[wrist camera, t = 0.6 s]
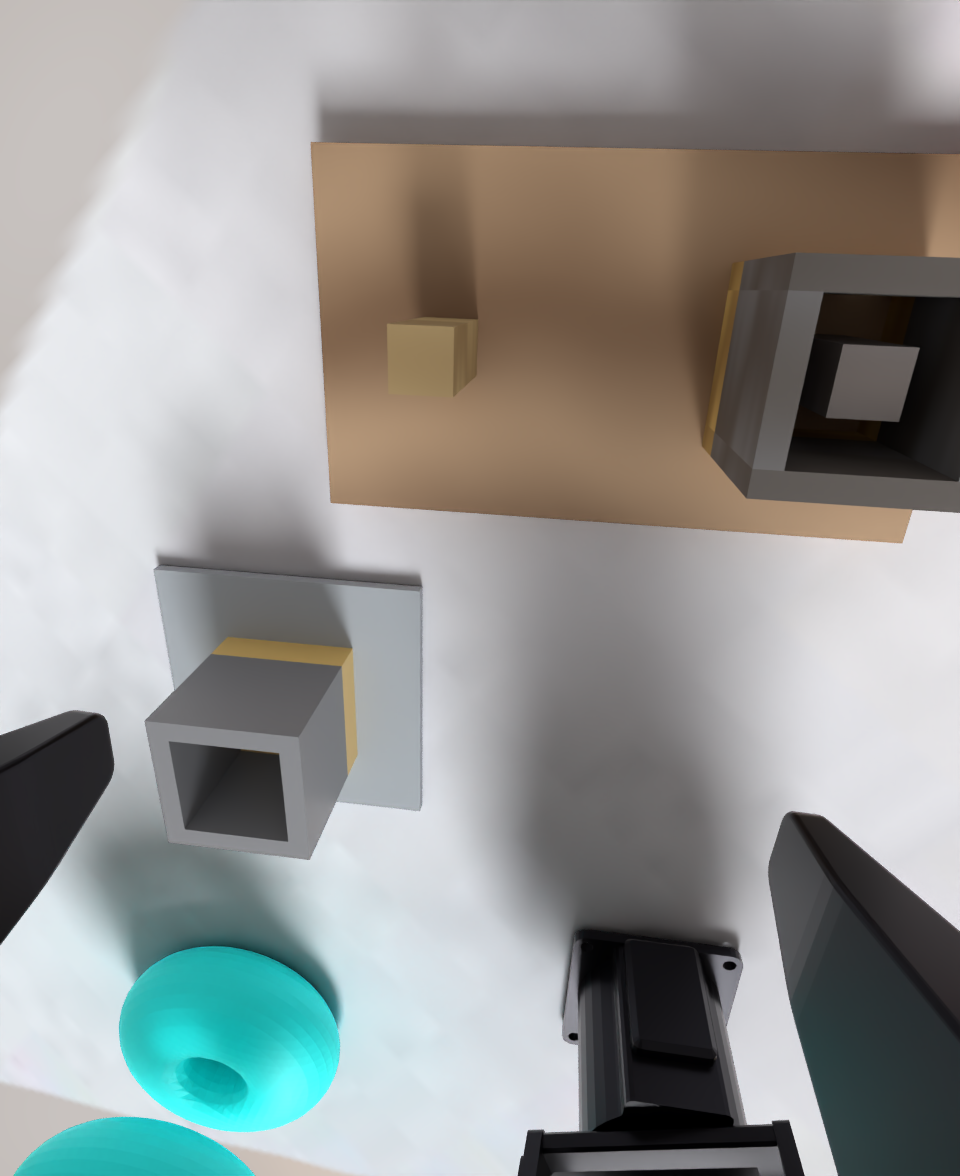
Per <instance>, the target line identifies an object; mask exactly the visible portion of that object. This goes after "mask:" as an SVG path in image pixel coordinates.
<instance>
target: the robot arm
mask: <svg viewBox="0 0 960 1176" xmlns="http://www.w3.org/2000/svg"><path fill="white" fill-rule="evenodd" d="M113 771H114V758H113V752H112V746H111V740H110V734H109V728H108V723H107V720H106V719H105V717H104V716H103V715H101V714H99V713H92V712H85V711H78V710H73V711H68V712H65V713H62V714H59V715H57V716H54V717H51V718H48V719H45V720H42V721H40V722H37V723H34V724H31V725H28V726H25V727H23V728H20V729H17V730H14V731H11V732H8V733H6V734H3V735H0V945H1V944H2V942H3V941H4V940H5V938H6V937H7V936H8V934H9V933H10V932H11V930H12V929H13V928H14V926H15V925H16V924H17V923H18V921H19V920H20V919H21V917H22V916H23V915H24V913H25V912H26V911H27V909H28V908H29V907H30V905H31V904H32V903H33V901H34V900H35V899H36V897H37V896H38V894H39V893H40V892H41V890H42V889H43V887H44V886H45V885H46V883H47V882H48V880H49V879H50V877H51V876H52V874H53V873H54V871H55V870H56V868H57V867H58V865H59V864H60V862H61V860H62V859H63V857H64V856H65V854H66V852H67V851H68V849H69V847H70V846H71V844H72V843H73V841H74V839H75V838H76V836H77V834H78V833H79V831H80V830H81V828H82V826H83V825H84V823H85V821H86V820H87V818H88V817H89V815H90V813H91V812H92V810H93V808H94V807H95V805H96V804H97V802H98V800H99V799H100V797H101V796H102V794H103V792H104V791H105V789H106V787H107V786H108V784H109V782H110V780H111V778H112V775H113ZM768 877H769V885H770V891H771V897H772V903H773V908H774V914H775V920H776V926H777V932H778V938H779V944H780V950H781V956H782V961H783V967H784V973H785V979H786V985H787V990H788V995H789V1000H790V1005H791V1009H792V1013H793V1016H794V1020H795V1024H796V1028H797V1031H798V1035H799V1039H800V1042H801V1046H802V1049H803V1053H804V1056H805V1060H806V1063H807V1067H808V1070H809V1074H810V1078H811V1081H812V1085H813V1088H814V1092H815V1095H816V1099H817V1102H818V1106H819V1109H820V1113H821V1116H822V1120H823V1124H824V1127H825V1131H826V1134H827V1138H828V1141H829V1145H830V1148H831V1152H832V1155H833V1159H834V1163H835V1166H836V1170H837V1173H838V1176H960V931H959V930H958V929H957V928H955V927H954V926H953V925H952V924H951V923H949V922H948V921H947V920H946V919H945V918H943V917H942V916H941V915H940V914H939V913H938V912H936V911H935V910H934V909H933V908H932V907H930V906H929V905H928V904H927V903H926V902H925V901H923V900H922V899H921V898H920V897H919V896H917V895H916V894H915V893H914V892H913V891H911V890H910V889H909V888H908V887H907V886H906V885H904V884H903V883H902V882H901V881H900V880H898V879H897V878H896V877H895V876H894V875H893V874H891V873H890V872H889V871H888V870H887V869H885V868H884V867H883V866H882V865H881V864H880V863H878V862H877V861H876V860H875V859H874V858H872V857H871V856H870V855H869V854H868V853H866V852H865V851H864V850H863V849H862V848H861V847H859V846H858V845H857V844H856V843H855V842H853V841H852V840H851V839H850V838H849V837H848V836H846V835H845V834H844V833H843V832H842V831H840V830H839V829H838V828H837V827H836V826H834V825H833V824H832V823H831V822H830V821H829V820H827V819H826V818H825V817H823V816H821V815H817V814H810V813H802V812H795V811H791V812H789V813H787V814H786V815H785V816H784V818H783V820H782V822H781V825H780V829H779V832H778V835H777V838H776V841H775V844H774V848H773V851H772V854H771V857H770V861H769V867H768ZM742 969H743V963H742V959H741V955H740V953H739V952H738V951H737V950H735V949H733V948H728V947H720V946H712V945H705V944H697V943H689V942H681V941H673V940H666V939H658V938H650V937H642V936H634V935H627V934H619V933H611V932H603V931H595V930H580V931H578V932H577V933H576V934H575V936H574V941H573V949H572V957H571V964H570V972H569V980H568V987H567V995H566V1003H565V1011H564V1018H563V1027H562V1036H563V1039H564V1040H565V1041H566V1042H568V1043H570V1044H575V1045H578V1068H579V1131H577V1132H550V1133H545V1131H544V1130H528V1132H527V1138H526V1144H525V1150H524V1156H521V1159H520V1165H519V1171H518V1176H805V1175H804V1172H803V1168H802V1165H801V1161H800V1158H799V1154H798V1150H797V1147H796V1143H795V1140H794V1136H793V1133H792V1129H791V1126H790V1122H789V1120H777V1121H772V1124H764V1125H747V1123H746V1118H745V1114H744V1109H743V1104H742V1099H741V1095H740V1090H739V1085H738V1081H737V1076H736V1071H735V1067H734V1062H733V1057H732V1052H731V1048H730V1043H729V1038H728V1034H727V1029H726V1026H727V1022H728V1019H729V1015H730V1012H731V1008H732V1005H733V1001H734V998H735V994H736V990H737V987H738V983H739V980H740V976H741V973H742Z"/></svg>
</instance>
